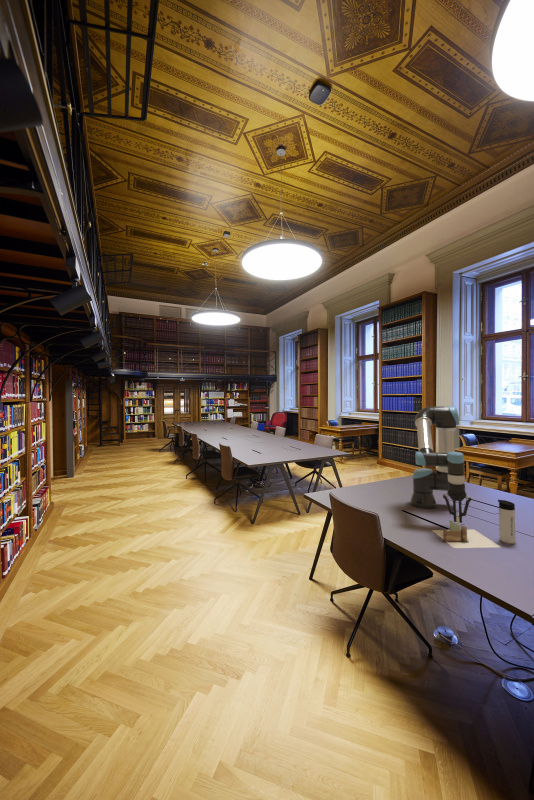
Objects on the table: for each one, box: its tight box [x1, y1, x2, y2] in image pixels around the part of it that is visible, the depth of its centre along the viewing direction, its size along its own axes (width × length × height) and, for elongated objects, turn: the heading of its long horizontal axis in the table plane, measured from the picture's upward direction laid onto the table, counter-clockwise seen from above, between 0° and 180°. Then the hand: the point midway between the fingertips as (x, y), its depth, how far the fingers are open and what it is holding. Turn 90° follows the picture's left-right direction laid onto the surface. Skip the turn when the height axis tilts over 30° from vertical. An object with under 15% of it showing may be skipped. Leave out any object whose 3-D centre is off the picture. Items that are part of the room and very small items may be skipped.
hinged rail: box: [449, 519, 461, 531], centre depth 162 cm, size 10×2×5 cm, turn 178°
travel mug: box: [497, 499, 517, 545], centre depth 154 cm, size 6×7×20 cm
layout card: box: [431, 528, 501, 549], centre depth 158 cm, size 20×22×1 cm
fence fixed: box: [442, 525, 468, 542], centre depth 155 cm, size 2×11×7 cm, turn 89°
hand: (458, 528), depth 164 cm, fingers closed
